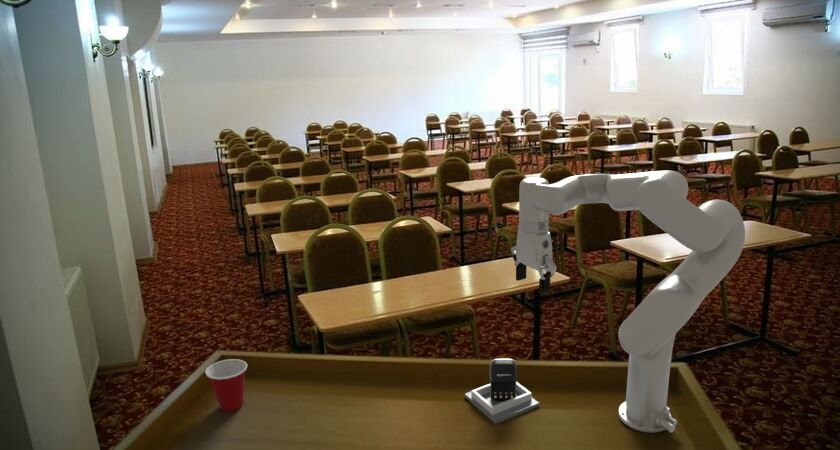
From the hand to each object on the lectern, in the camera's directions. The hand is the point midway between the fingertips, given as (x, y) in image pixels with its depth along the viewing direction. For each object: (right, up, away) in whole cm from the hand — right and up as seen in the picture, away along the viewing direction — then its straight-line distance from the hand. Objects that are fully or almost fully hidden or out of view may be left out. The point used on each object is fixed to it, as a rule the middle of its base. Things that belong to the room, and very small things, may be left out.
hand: (532, 285), depth 167 cm
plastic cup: (-81, -33, +2) cm, 88 cm away
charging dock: (-9, -31, -1) cm, 32 cm away
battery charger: (-8, -30, -2) cm, 31 cm away
